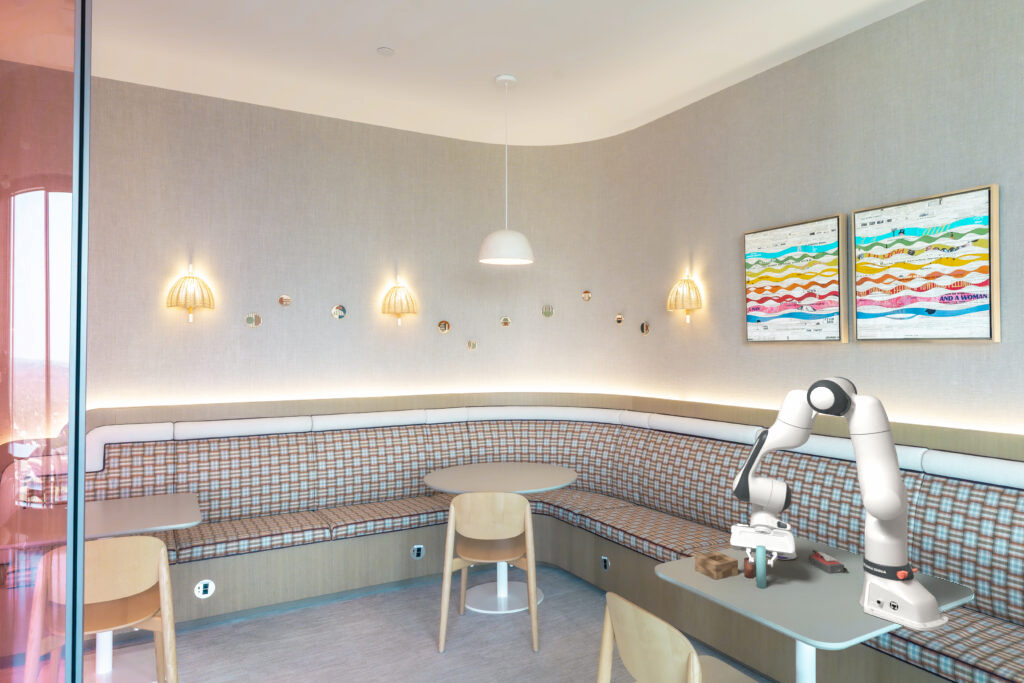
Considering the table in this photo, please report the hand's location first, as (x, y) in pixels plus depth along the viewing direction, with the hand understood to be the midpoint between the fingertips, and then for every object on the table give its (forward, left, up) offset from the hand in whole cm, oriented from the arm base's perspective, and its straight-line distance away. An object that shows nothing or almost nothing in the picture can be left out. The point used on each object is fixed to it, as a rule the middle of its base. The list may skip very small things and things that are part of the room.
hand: (760, 564), depth 199 cm
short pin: (+8, -4, -7) cm, 12 cm away
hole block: (+16, +3, -7) cm, 18 cm away
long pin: (0, -1, -7) cm, 7 cm away
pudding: (+18, -30, -8) cm, 36 cm away
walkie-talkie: (+5, -36, -8) cm, 37 cm away
